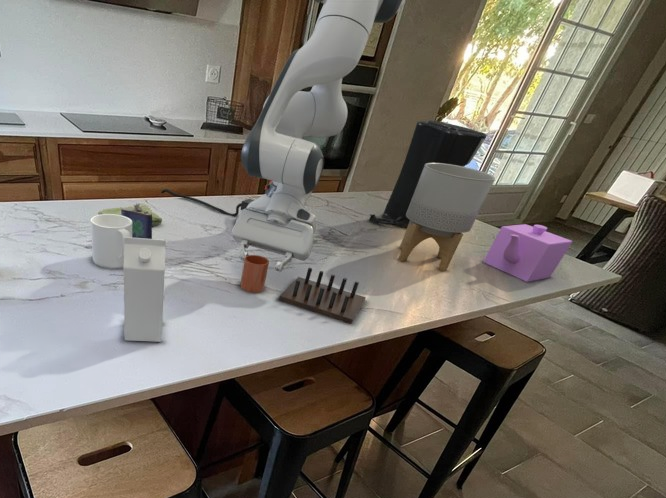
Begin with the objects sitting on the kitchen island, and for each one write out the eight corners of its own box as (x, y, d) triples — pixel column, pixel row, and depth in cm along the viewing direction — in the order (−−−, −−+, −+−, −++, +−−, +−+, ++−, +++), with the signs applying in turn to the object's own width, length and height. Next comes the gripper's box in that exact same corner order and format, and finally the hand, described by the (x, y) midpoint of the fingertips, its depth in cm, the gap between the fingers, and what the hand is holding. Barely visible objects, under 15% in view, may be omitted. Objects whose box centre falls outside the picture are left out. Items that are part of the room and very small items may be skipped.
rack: (278, 299, 104) (283, 280, 101) (297, 280, 115) (302, 262, 111) (351, 324, 99) (358, 303, 96) (364, 301, 109) (371, 282, 106)
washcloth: (96, 216, 137) (95, 206, 135) (147, 213, 145) (148, 203, 143) (110, 231, 128) (109, 220, 126) (164, 227, 136) (164, 216, 134)
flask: (119, 240, 123) (119, 201, 116) (124, 237, 125) (124, 199, 119) (149, 248, 121) (150, 208, 115) (153, 244, 124) (155, 206, 117)
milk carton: (126, 322, 89) (125, 230, 77) (161, 323, 90) (165, 233, 78) (124, 341, 83) (122, 245, 72) (161, 342, 84) (165, 247, 73)
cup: (236, 287, 107) (240, 260, 103) (246, 280, 111) (250, 253, 107) (258, 295, 105) (263, 267, 101) (267, 286, 110) (272, 259, 105)
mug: (85, 257, 112) (83, 216, 106) (119, 250, 117) (119, 212, 111) (110, 275, 105) (108, 233, 99) (145, 268, 110) (145, 228, 104)
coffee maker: (453, 226, 173) (497, 130, 152) (420, 240, 153) (465, 132, 133) (401, 209, 184) (435, 118, 164) (363, 220, 165) (397, 118, 144)
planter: (379, 248, 141) (411, 162, 125) (421, 245, 148) (456, 163, 132) (421, 273, 128) (463, 179, 112) (465, 268, 135) (510, 180, 119)
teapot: (469, 264, 139) (491, 219, 131) (514, 257, 150) (538, 216, 141) (513, 284, 129) (540, 238, 121) (558, 275, 140) (586, 232, 131)
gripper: (241, 197, 107) (219, 247, 106) (321, 217, 100) (298, 270, 99) (246, 212, 113) (225, 259, 112) (321, 232, 106) (299, 282, 105)
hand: (260, 264), depth 105 cm, fingers open, 8 cm apart
